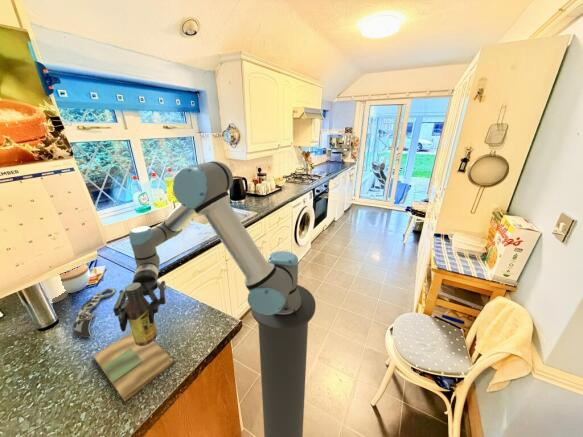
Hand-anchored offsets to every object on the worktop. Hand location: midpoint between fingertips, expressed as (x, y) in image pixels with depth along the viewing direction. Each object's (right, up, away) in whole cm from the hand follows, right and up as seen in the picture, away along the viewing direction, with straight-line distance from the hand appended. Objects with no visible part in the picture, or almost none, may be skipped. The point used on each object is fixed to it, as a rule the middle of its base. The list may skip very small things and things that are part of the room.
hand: (137, 323), depth 66 cm
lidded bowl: (-56, -2, +42) cm, 70 cm away
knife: (-36, -8, +28) cm, 46 cm away
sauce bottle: (-2, -9, +8) cm, 12 cm away
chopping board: (-7, -16, +9) cm, 19 cm away
